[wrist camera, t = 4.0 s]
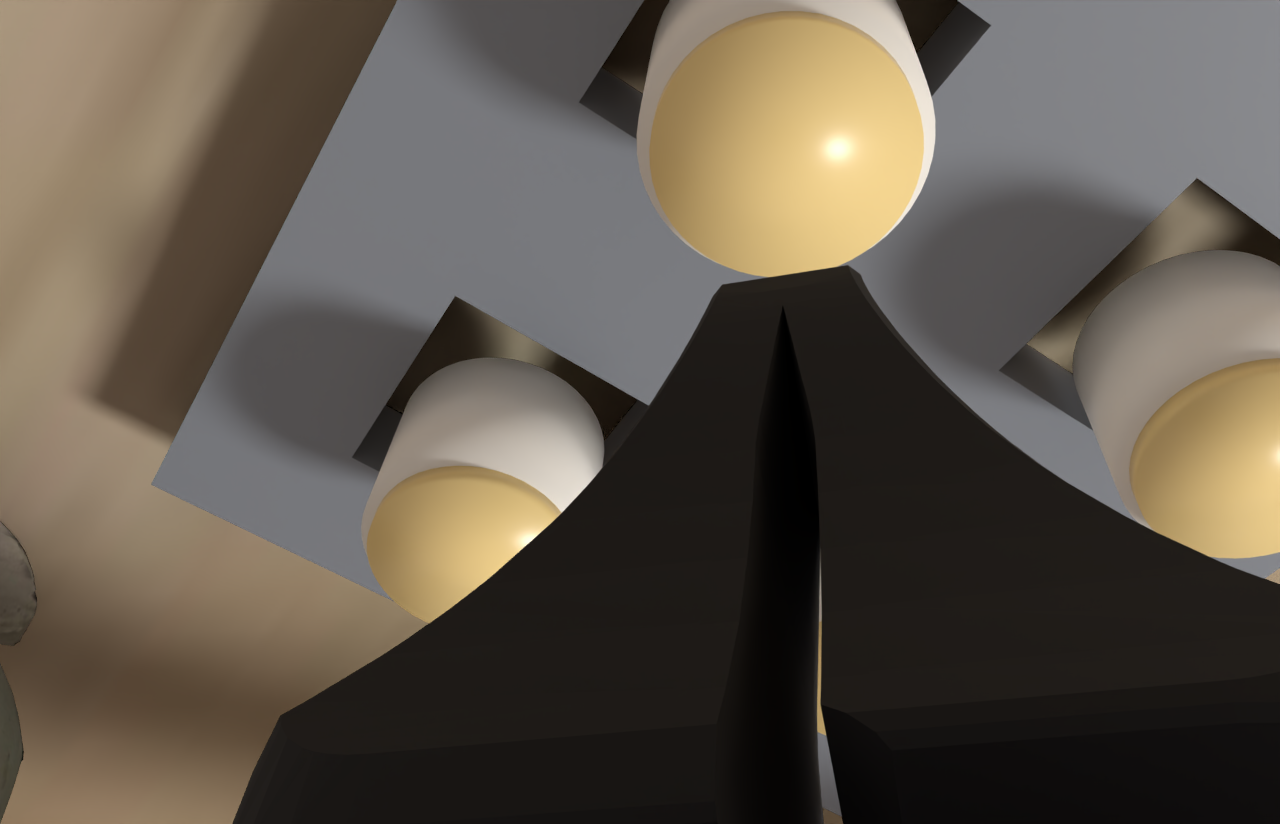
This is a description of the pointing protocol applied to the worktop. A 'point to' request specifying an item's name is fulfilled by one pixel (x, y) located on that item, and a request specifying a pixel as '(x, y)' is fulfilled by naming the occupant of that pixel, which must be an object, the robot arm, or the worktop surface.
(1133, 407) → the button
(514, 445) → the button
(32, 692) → the worktop surface
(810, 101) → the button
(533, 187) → the button board
